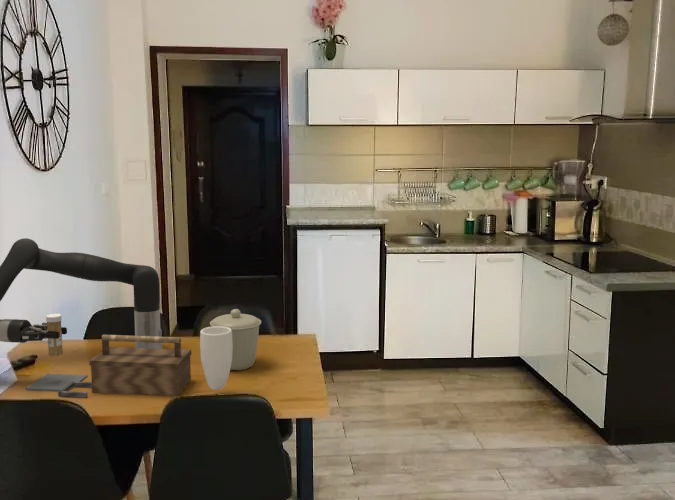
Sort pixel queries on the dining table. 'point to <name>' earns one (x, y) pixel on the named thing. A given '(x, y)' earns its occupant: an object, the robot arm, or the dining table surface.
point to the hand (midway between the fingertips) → (62, 332)
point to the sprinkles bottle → (55, 325)
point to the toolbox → (136, 368)
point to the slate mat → (55, 382)
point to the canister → (241, 337)
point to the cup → (216, 355)
